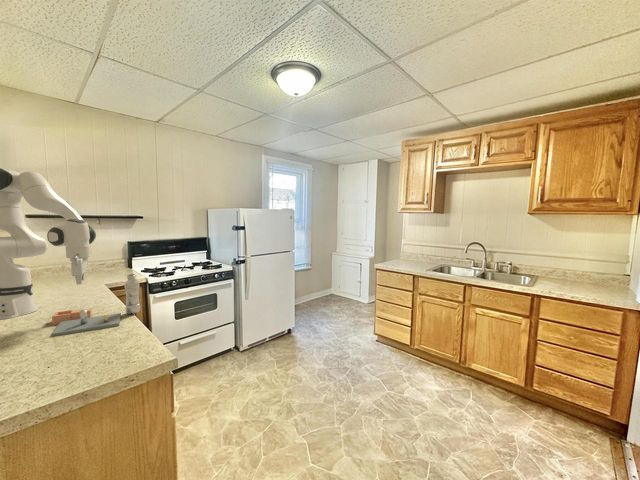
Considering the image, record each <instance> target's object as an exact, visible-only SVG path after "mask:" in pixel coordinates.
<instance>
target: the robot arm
mask: <svg viewBox="0 0 640 480" xmlns="http://www.w3.org/2000/svg"><path fill="white" fill-rule="evenodd" d="M22 197H23V199H24V200H25V201H26V202H27V204H28V205H29V206H30V207H32V208H34V209H37V210H40V211H45V212H48V213H49V212H50V213H52V214H53V213H54V214H56V215H59V216H61V217H63V218H64V219H65V221H64V223H62V224H59V225H57V226H53V227H51V228H50V229H49V230H48V231H47V233H46V234H47V235H46V237H47V239H45V238H44V237H42V236H41V235H38V233H37V234H36V233H35V232H33V230H31V229H30V227H28V225H27V223H26V220H25V216H24V211H23V206H22V203H21V201H22V200H21V199H22ZM0 230H1V231H4V232H6V233H8V234H10V236H0V320H7V319H9V320H10V319H14V318H17V317H21V316H24V315H28V314H31V313H35V312H36V311H38V307H37V305H36V302H35V299H34V285H33V283H32V275H31V274H32V273H31V269H30V268H29V267H27V266H25V265H22V264H19V263H18V264H17V263H14V261H13V260H14V259H18V258H19V259H21V258H30V257H31V258H32V257H38V256H41V255H44V254H45V253H46V252H47V251H48V249H49V244H50V245H52V246H54V247H65V256H66V257H65V258H66V259H69V262H71V264H70V265H71V269H70V270H71V276H72V277H74V278H75V283H76V285H81V284H82V283H83V281H84V280H85V272H86V271H87V269H88V261H89V257H92V254H91V250H92V249H91V244H92V243H93V242H95V240H96V237H97V234H96V231H95V230H94V228H93V227H92V226H90V225H89V224H88V222H87V221H85V220H84V219H83V217H82V216H81V215H80V214H79V212H77V210H76V209H75V207H73V206H72V204H71V203H70V202H68V201H67V200H65V199H63V198H62V197H61V196H59V195H58V194H57V193H56V191H54V189H53V187H52V185H51V184H50V183H49V182H48V181H47V179H46V178H45V177H44V176H43V174H41V173H39V172H36V171H31V170H30V171H20V170H14V169H4V168H0ZM48 242H49V244H48Z"/></svg>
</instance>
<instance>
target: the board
mask: <svg viewBox="0 0 640 480" xmlns="http://www.w3.org/2000/svg"><path fill="white" fill-rule="evenodd" d="M107 315H108V322H106V323H104V316H105V315H99V316H92V317H90V318H87V324H84V325H81V324H80V319H76V320H71V319H70V320H69V321H62V322H60V324H57V327H56V328H55V330H53V332H52V337H58V336H65V335H70V334H77V333H82V332H83V333H84V332H89V331H95V330H101V329H102V330H103V329H107V328H108V329H109V328H114V327H119V326H120V323H121V318H122V314H121V313H120V312H119V313H113V314H107Z"/></svg>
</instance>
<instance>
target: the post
mask: <svg viewBox="0 0 640 480" xmlns="http://www.w3.org/2000/svg"><path fill="white" fill-rule="evenodd" d="M80 310H81V311H80V324H81V325H84V324H87V310H82V309H80ZM108 315H109V314H106V315H105V316H104V315H103V316H104V323H106V322H108Z"/></svg>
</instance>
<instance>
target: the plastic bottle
mask: <svg viewBox="0 0 640 480" xmlns="http://www.w3.org/2000/svg"><path fill="white" fill-rule="evenodd" d="M126 280H127V281H126V282H125V284H124V290H125V302H126V303H125V309H124V310H125V313H126V314H127V315H133V314H137V313H139V312H140V311H141V304H140V299H139V291H140V283H139V281H138V280H137V274H133V273H131V274H128V275H127V277H126ZM131 313H132V314H131Z"/></svg>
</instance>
